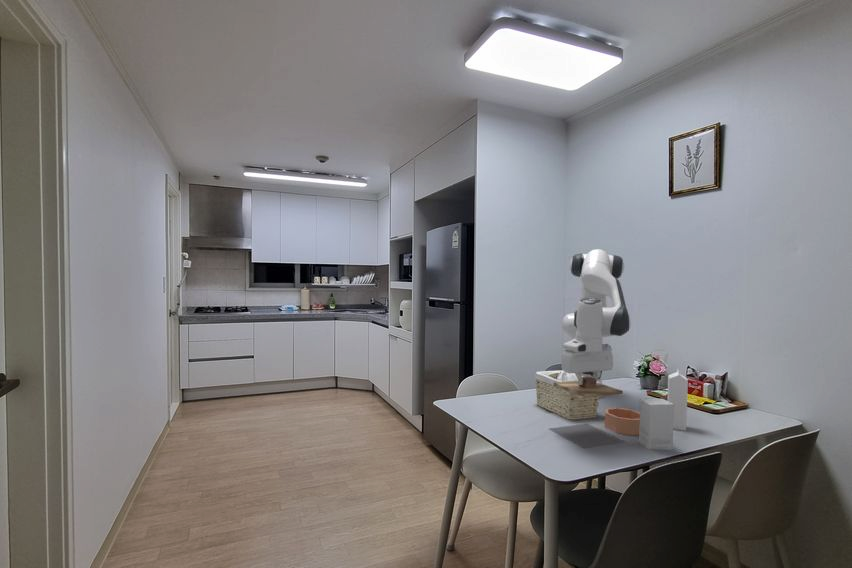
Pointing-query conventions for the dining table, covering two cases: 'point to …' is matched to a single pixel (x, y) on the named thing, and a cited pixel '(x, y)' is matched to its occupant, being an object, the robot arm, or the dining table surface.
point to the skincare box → (656, 423)
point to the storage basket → (563, 396)
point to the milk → (678, 399)
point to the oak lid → (588, 388)
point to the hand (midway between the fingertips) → (587, 384)
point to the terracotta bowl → (622, 421)
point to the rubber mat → (586, 435)
